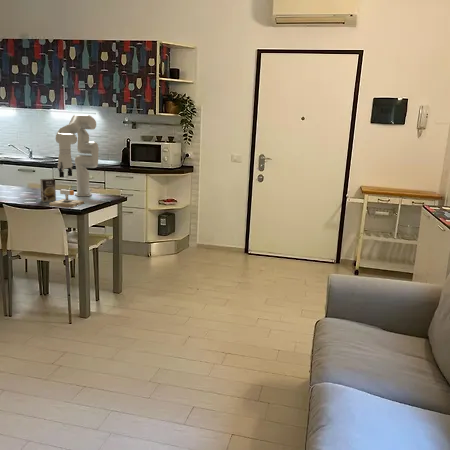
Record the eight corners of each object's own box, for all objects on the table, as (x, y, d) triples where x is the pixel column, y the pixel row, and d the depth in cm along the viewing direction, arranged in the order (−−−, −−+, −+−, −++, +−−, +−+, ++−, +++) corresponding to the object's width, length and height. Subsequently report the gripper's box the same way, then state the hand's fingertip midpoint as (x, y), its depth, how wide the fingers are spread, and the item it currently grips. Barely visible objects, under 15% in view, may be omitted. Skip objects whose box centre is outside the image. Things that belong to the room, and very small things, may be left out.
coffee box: (43, 202, 339) (42, 180, 335) (41, 200, 344) (39, 178, 340) (56, 201, 344) (55, 179, 341) (53, 199, 349) (52, 178, 346)
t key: (59, 200, 333) (59, 189, 331) (63, 199, 337) (62, 189, 335) (71, 202, 330) (70, 190, 329) (74, 201, 335) (74, 190, 333)
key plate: (63, 201, 345) (63, 198, 344) (84, 203, 340) (84, 200, 340) (49, 205, 329) (49, 202, 328) (70, 207, 324) (70, 204, 324)
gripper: (67, 151, 335) (68, 175, 339) (52, 152, 319) (53, 177, 322) (76, 151, 333) (77, 175, 337) (62, 152, 317) (63, 178, 320)
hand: (65, 176), depth 329 cm, fingers open, 9 cm apart
